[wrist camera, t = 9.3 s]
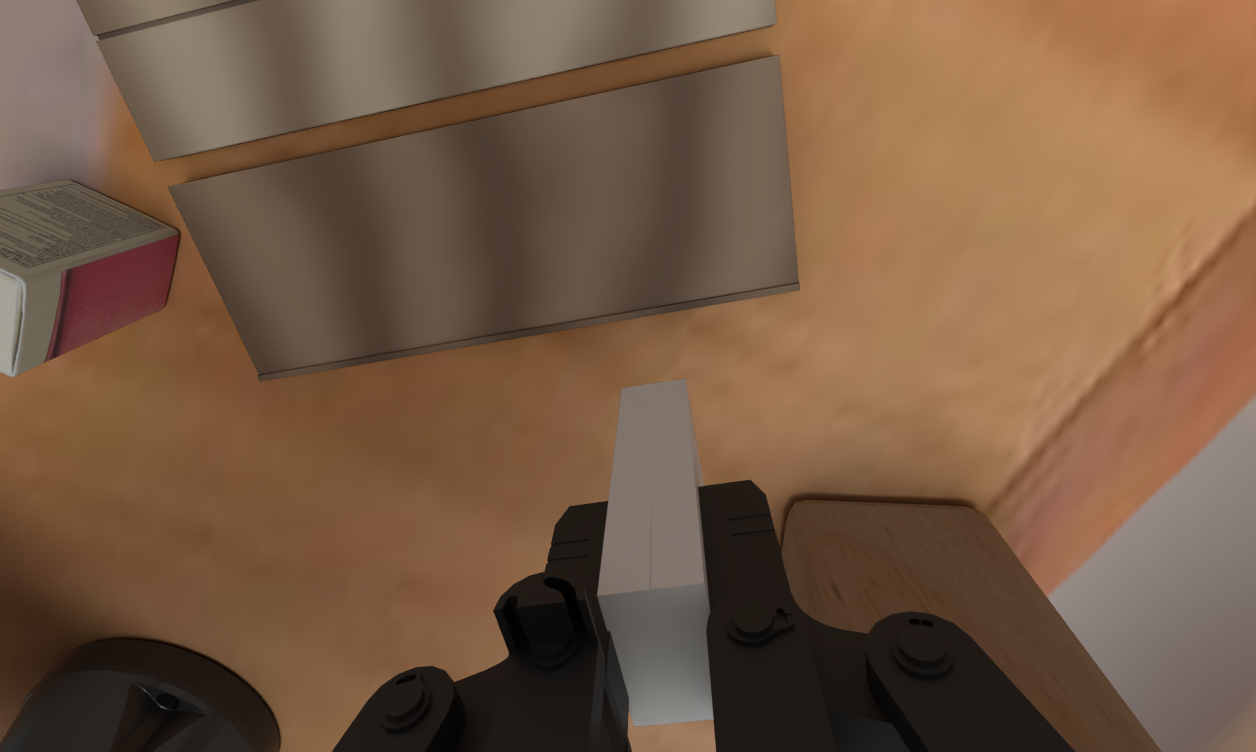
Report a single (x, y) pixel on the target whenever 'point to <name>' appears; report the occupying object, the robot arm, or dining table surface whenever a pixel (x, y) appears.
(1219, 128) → the dining table surface
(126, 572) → the dining table surface
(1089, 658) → the wooden block
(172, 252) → the small box
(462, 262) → the plank
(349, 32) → the laid board
